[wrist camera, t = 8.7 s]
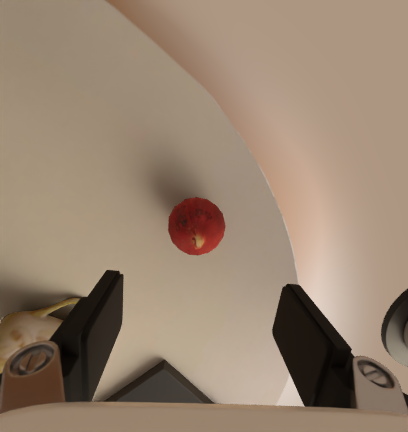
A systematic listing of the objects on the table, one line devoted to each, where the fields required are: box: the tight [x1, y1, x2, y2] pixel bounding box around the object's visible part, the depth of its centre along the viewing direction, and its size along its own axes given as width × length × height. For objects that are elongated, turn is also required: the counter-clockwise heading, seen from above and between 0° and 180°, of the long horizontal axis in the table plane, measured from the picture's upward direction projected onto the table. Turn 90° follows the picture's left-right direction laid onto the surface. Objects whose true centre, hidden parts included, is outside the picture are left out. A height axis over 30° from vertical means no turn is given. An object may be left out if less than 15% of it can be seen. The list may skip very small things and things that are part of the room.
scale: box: [104, 360, 214, 404], centre depth 34 cm, size 16×14×3 cm
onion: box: [168, 197, 225, 255], centre depth 23 cm, size 6×6×8 cm
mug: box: [0, 298, 80, 374], centre depth 27 cm, size 8×10×10 cm
